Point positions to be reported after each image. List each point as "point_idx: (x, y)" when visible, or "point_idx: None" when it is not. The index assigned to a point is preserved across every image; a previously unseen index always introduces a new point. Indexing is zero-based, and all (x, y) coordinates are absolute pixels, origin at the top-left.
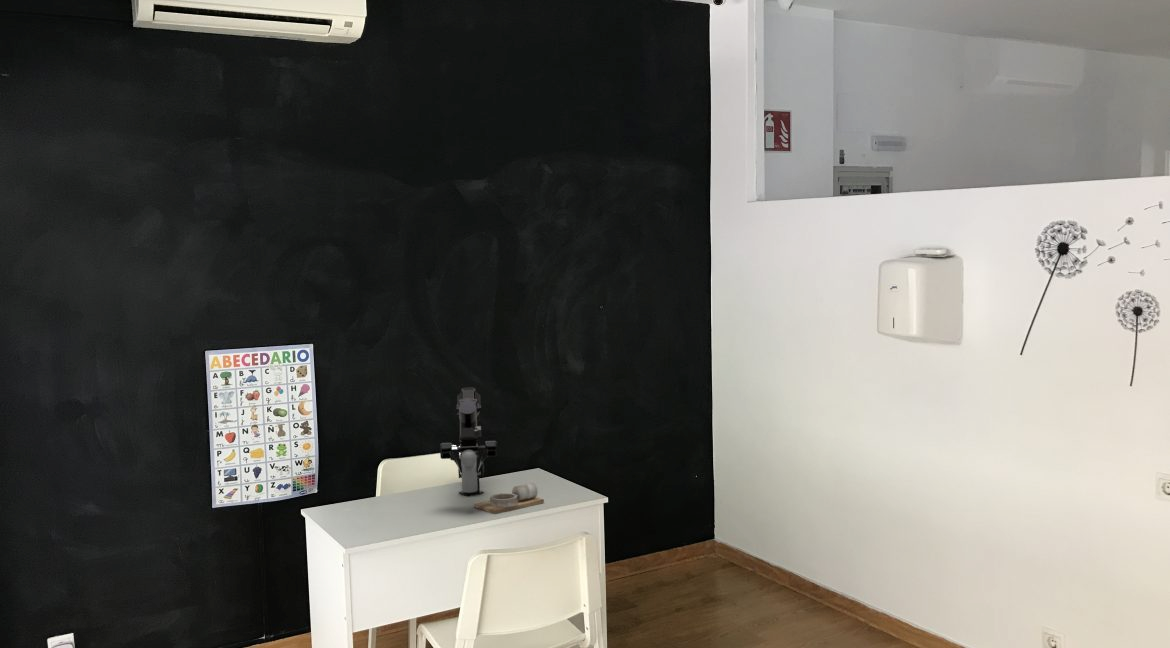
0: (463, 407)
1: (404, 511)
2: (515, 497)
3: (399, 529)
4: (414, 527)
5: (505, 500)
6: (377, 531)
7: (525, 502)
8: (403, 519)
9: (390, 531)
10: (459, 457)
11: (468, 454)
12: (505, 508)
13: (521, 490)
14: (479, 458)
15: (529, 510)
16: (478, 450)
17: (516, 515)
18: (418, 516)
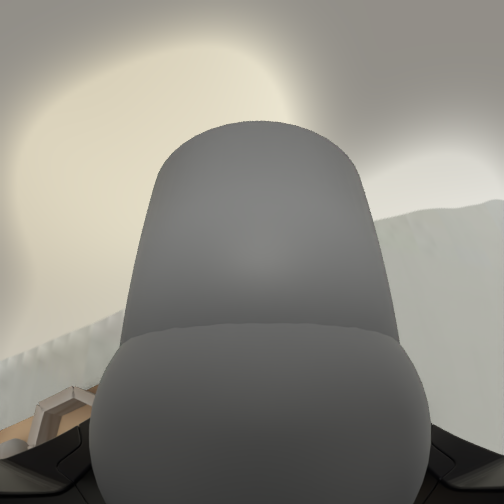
0: None
1: (496, 448)
2: (37, 410)
3: (455, 246)
4: (426, 256)
5: (80, 388)
6: (491, 240)
7: (22, 435)
8: (482, 349)
9: (466, 234)
10: (433, 465)
11: (260, 140)
12: (97, 385)
13: (2, 444)
14: (76, 444)
15: (30, 380)
16: (1, 492)
17: (78, 330)
18: (451, 386)
